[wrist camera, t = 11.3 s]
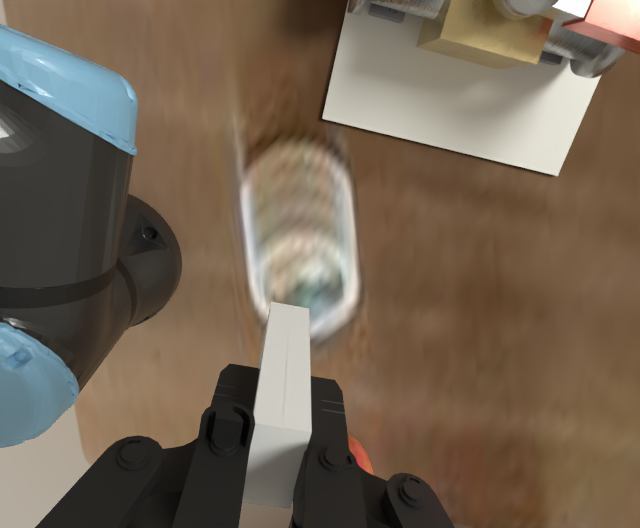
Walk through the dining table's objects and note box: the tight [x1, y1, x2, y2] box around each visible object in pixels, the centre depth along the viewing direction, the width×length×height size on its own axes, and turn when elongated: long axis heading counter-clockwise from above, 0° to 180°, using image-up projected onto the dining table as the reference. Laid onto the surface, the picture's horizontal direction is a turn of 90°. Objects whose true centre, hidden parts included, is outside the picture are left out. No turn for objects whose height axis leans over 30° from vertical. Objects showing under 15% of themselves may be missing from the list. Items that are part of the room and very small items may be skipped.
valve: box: [347, 0, 626, 79], centre depth 34 cm, size 22×8×10 cm, turn 77°
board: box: [322, 0, 601, 176], centre depth 40 cm, size 25×15×1 cm, turn 77°
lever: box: [493, 0, 640, 54], centre depth 28 cm, size 17×4×6 cm, turn 74°
